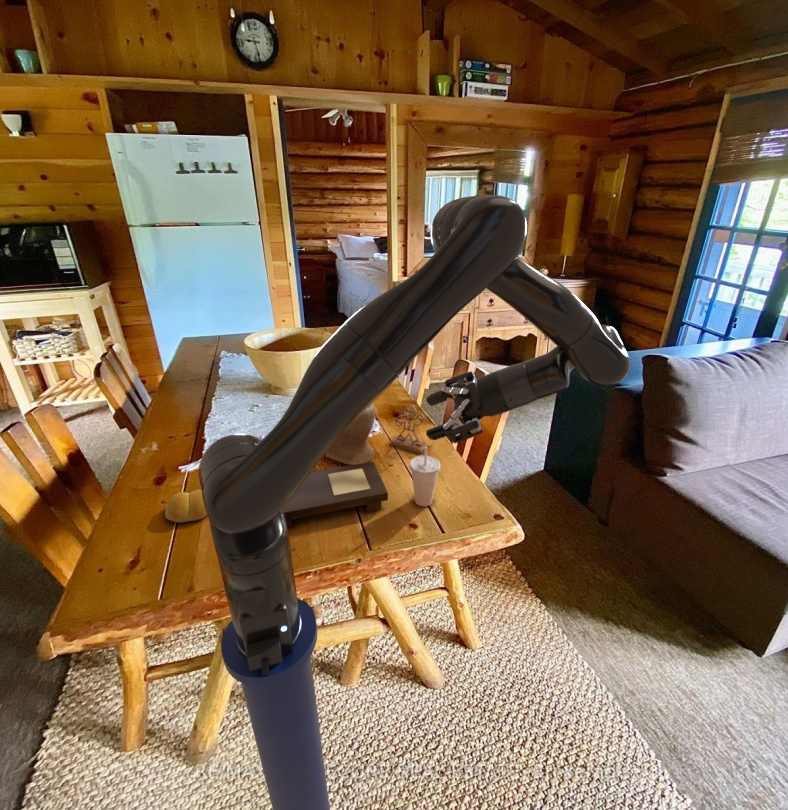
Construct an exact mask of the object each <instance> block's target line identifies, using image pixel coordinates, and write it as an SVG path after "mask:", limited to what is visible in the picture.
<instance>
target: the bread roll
mask: <svg viewBox="0 0 788 810" xmlns="http://www.w3.org/2000/svg"><path fill="white" fill-rule="evenodd" d="M164 514H165V518H166V519H167V520H168V521H171V522H175V523H186V522H190V521H191V522H192V521H193V522H195V521H199V520H203V519H204V518H205V517H207V516H208V515H207V513H206V510H205V506H204V502H203V497H202V492H201V489H195V490H192V491H191V492H186V491H182V492H177V493H175V494H174V495H172V496H171V497H170V499H169V500H168V502H167V504H166V507H165V513H164Z"/></svg>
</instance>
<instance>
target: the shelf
mask: <svg viewBox="0 0 788 810" xmlns="http://www.w3.org/2000/svg"><path fill="white" fill-rule="evenodd" d="M386 501H389V492H388V489H387V488H386V485H385V484H384V481H383V479H382V476H381V475H380V473H379V471H378V468H377V466H376V463H375V461H369V462H367V463H362V464H356V465H345V466H338V467H333V468H327V469H321V470H315V471H311V473H310V474H309V475H308V477H307V478H306V479H305V481H304V482H303V483H302V485H301V486H300V487H299V488H298V490H297V491H296V492H295V494H294V495H293V496H292V498H291V499H290V500H289V501H288V503H287V504H286V505H285V506H284V508H283V511H284V515H285V519H286V522H287V526H288V529H289V528H290V529H291V528H294V523H293V520H295V519H300V518H305V517H311V516H315V515H320V514H326V513H330V512H335V511H341V510H346V509H351V508H355V507H361V506H364V508H365V510H366V512H367V513H370V512H374V511H375V512H376V511H380V510H382V502H386Z"/></svg>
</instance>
